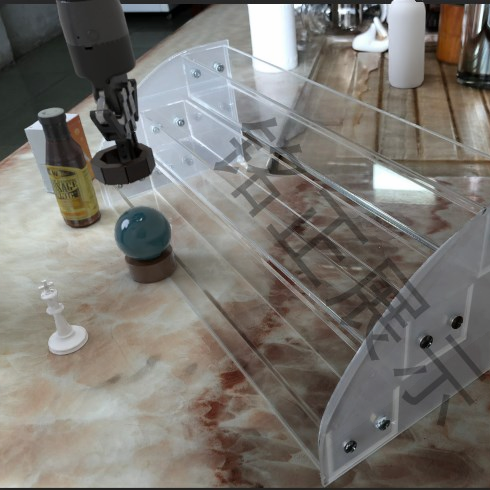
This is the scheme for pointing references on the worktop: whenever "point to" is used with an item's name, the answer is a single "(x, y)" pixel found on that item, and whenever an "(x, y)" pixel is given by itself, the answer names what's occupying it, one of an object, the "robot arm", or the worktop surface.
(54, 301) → the chess piece
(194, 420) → the worktop surface
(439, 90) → the worktop surface
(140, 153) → the walnut ring
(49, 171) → the sauce bottle
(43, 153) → the small box
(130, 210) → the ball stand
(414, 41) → the white plastic bottle
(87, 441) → the worktop surface
